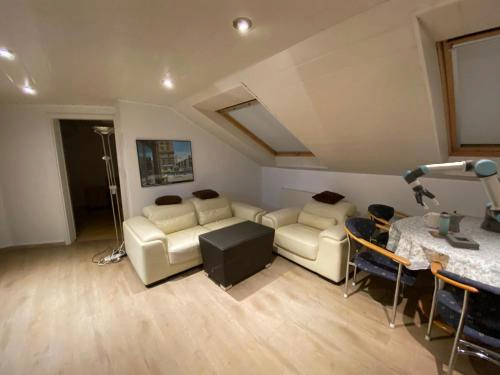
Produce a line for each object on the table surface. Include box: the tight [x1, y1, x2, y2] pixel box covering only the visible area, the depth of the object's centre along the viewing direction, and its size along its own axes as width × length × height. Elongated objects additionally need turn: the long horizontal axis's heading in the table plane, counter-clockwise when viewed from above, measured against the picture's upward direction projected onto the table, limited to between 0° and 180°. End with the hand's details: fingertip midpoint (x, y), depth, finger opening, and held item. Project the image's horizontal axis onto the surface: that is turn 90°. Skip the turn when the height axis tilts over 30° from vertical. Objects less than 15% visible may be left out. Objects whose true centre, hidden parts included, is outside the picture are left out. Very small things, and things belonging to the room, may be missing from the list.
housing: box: [445, 234, 481, 251], centre depth 158 cm, size 14×14×4 cm
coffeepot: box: [440, 210, 466, 234], centre depth 182 cm, size 15×9×18 cm, turn 34°
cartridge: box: [438, 213, 450, 236], centre depth 173 cm, size 6×6×17 cm
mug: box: [422, 212, 441, 229], centre depth 195 cm, size 12×8×12 cm
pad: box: [428, 230, 456, 239], centre depth 175 cm, size 16×12×1 cm
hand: (432, 207), depth 180 cm, fingers open, 13 cm apart
